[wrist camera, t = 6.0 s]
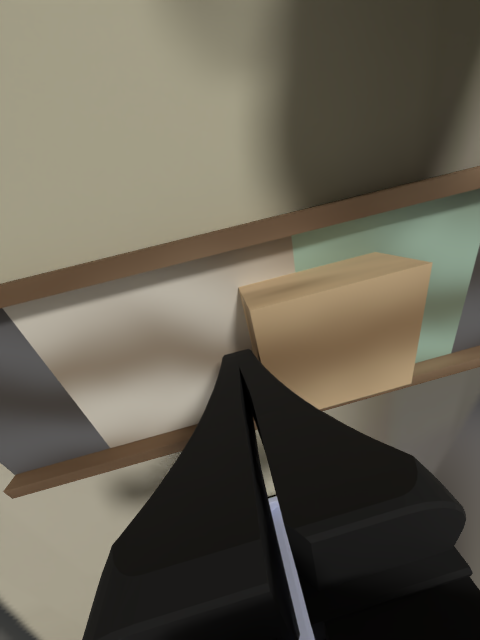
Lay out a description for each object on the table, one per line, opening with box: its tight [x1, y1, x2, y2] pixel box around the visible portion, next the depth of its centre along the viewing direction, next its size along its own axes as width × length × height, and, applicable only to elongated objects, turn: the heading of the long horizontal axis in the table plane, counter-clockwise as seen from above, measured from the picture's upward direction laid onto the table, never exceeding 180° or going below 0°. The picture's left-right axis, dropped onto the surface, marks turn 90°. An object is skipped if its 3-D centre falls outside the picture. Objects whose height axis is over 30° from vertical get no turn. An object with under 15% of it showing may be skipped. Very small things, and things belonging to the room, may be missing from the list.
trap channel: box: [0, 166, 480, 499], centre depth 12 cm, size 12×34×1 cm, turn 102°
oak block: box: [238, 252, 433, 410], centre depth 11 cm, size 6×7×3 cm
